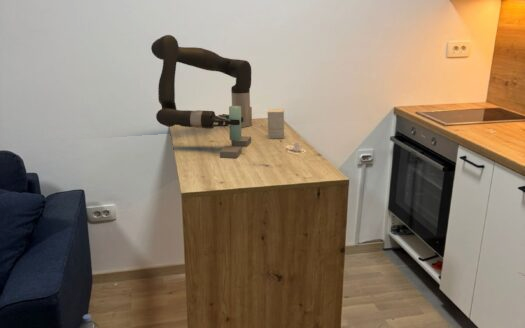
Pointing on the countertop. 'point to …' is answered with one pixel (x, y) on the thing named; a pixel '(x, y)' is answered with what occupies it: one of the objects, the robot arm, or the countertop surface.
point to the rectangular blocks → (235, 148)
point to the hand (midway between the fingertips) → (241, 121)
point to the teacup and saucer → (295, 148)
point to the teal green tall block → (235, 129)
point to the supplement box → (276, 123)
